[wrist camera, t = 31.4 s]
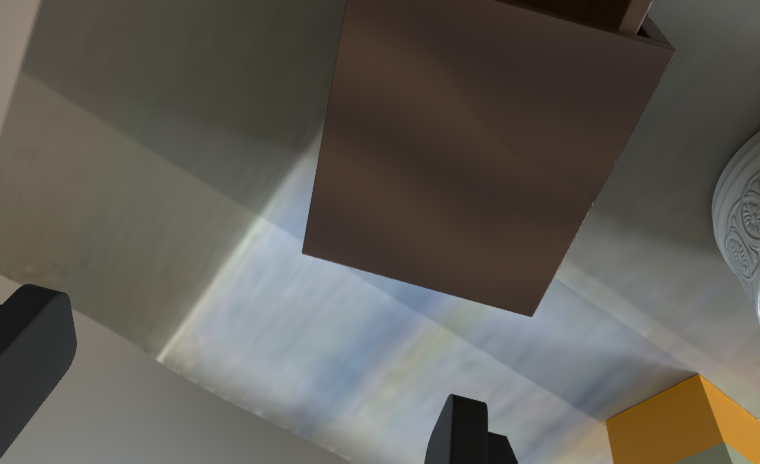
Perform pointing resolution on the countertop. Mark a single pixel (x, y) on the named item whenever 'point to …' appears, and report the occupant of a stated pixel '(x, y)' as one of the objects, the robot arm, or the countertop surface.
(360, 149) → the cabinet
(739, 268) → the jar
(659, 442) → the orange juice
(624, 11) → the drawer
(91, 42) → the countertop surface
